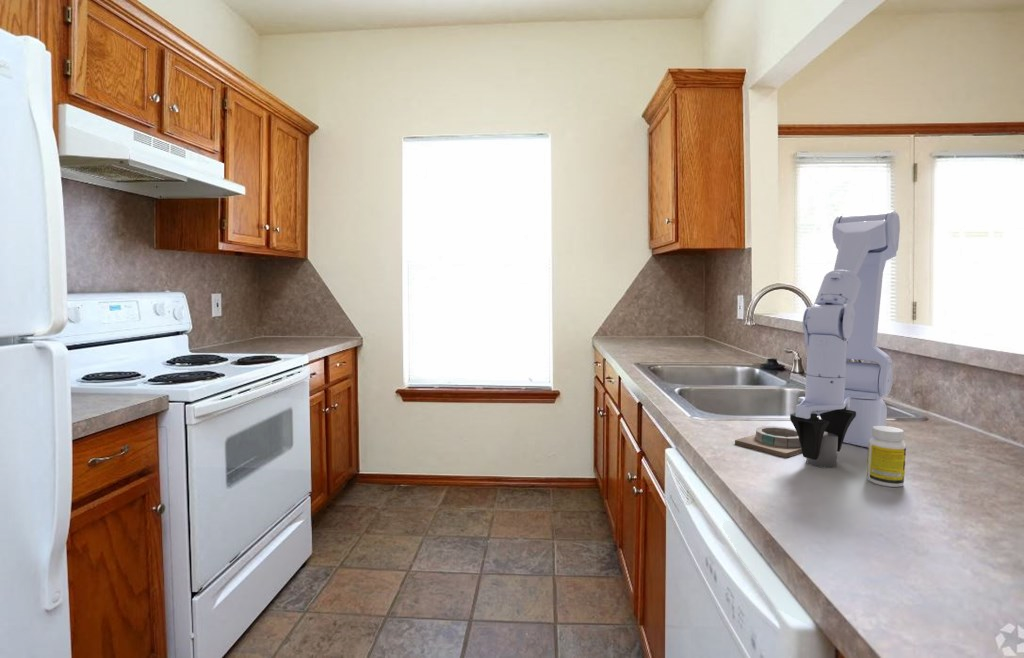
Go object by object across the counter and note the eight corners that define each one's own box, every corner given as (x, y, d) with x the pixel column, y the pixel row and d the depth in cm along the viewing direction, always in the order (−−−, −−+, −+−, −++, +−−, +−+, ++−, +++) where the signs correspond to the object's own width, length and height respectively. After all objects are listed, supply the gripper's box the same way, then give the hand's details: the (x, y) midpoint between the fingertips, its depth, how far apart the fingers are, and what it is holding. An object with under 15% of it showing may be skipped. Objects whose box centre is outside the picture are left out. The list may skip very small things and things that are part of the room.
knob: (814, 457, 95) (815, 427, 95) (841, 464, 92) (843, 433, 91) (801, 462, 93) (802, 431, 92) (828, 469, 89) (830, 437, 89)
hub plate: (774, 433, 111) (775, 421, 111) (825, 444, 103) (826, 432, 103) (734, 444, 103) (735, 431, 103) (786, 457, 95) (786, 444, 95)
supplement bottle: (910, 489, 81) (913, 433, 80) (875, 486, 82) (878, 431, 81) (894, 477, 85) (897, 425, 85) (861, 475, 86) (864, 424, 86)
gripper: (822, 368, 98) (818, 441, 99) (778, 375, 90) (775, 455, 91) (864, 373, 93) (860, 451, 94) (822, 382, 84) (818, 466, 85)
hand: (821, 454), depth 92 cm, fingers open, 7 cm apart
